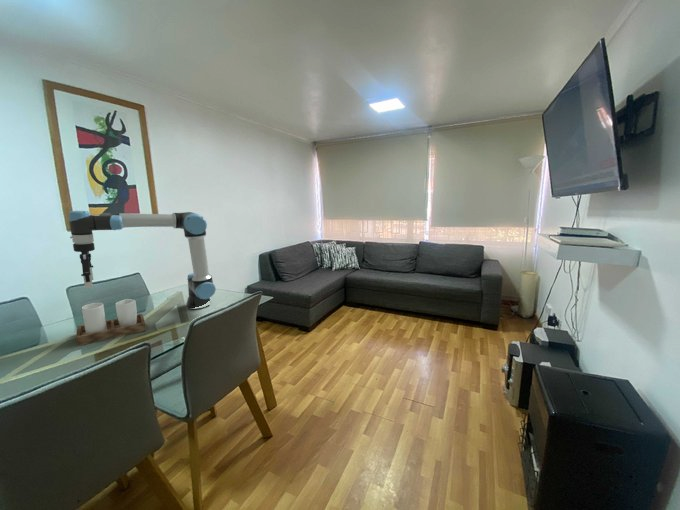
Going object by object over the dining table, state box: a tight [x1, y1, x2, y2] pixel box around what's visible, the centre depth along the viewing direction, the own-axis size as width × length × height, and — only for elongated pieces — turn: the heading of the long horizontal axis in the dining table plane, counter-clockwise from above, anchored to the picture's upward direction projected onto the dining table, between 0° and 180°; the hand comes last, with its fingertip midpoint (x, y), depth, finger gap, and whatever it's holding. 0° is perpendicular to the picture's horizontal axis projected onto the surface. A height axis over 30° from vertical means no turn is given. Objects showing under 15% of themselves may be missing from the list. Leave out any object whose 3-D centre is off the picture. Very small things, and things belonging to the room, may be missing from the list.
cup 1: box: [81, 302, 107, 334], centre depth 139 cm, size 8×8×16 cm
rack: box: [75, 313, 147, 347], centre depth 145 cm, size 28×14×4 cm, turn 131°
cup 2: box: [114, 298, 138, 327], centre depth 149 cm, size 7×7×15 cm
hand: (89, 284), depth 135 cm, fingers open, 13 cm apart
